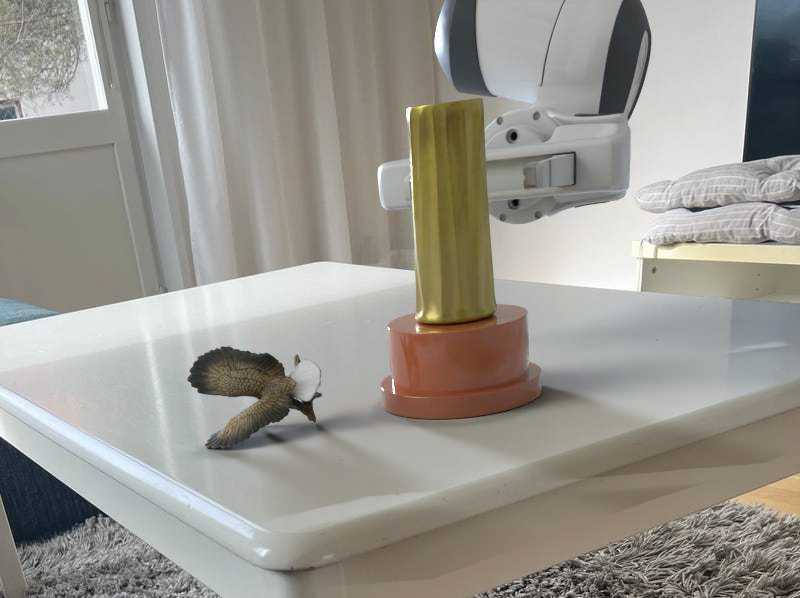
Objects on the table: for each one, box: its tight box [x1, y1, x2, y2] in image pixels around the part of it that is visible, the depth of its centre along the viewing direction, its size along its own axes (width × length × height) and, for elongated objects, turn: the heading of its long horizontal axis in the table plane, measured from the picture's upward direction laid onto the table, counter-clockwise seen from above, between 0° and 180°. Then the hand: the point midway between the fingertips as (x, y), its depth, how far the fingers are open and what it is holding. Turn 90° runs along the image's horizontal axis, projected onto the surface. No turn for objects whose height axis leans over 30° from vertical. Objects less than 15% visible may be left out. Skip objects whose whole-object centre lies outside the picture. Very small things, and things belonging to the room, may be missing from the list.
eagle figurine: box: [186, 345, 323, 449], centre depth 72 cm, size 8×7×9 cm
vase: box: [406, 97, 497, 324], centre depth 70 cm, size 6×6×14 cm
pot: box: [379, 303, 543, 420], centre depth 75 cm, size 12×12×6 cm
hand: (471, 182), depth 73 cm, fingers open, 8 cm apart
